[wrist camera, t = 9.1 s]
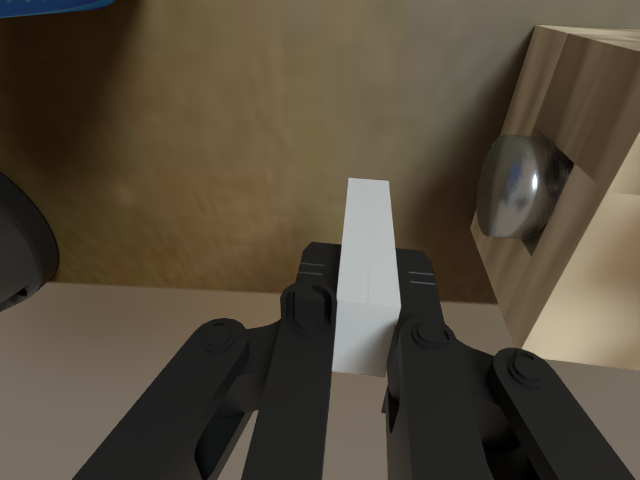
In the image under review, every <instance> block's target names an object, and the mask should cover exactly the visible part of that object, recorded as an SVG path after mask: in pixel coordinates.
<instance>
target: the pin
mask: <svg viewBox="0 0 640 480" xmlns="http://www.w3.org/2000/svg"><path fill="white" fill-rule="evenodd" d="M574 165H575V163H574V162H573V161H572V160H570V159H569V158H560V157H558V152H557V150H556V147H555V145H554V144H553V142H552V141H551V140H550V139H548V138H546V137H535V136H521V135H508V134H504V135H501V136H499V137H498V138H497V139H496V140H495V141H494V143H493V144H492V146H491V147H490V149H489V151H488V153H487V155H486V158H485V160H484V163H483V166H482V170H481V173H480V178H479V183H478V189H477V200H476V211H477V220H478V224H479V227H480V230H481V232H482V233H483V234H484V235H485V236H489V237H500V238H510V239H520V240H528V239H531V238H533V237H534V236H536V235H537V234H538V233H539V232H540V231H541V230H542V228H543V227H544V225H545V224H547V223H548V221H549V218H550V216H551V214H552V212H553V210H554V208H555V206H556V203H557V201H558V199H559V197H560V195H561V193H562V191H563V188H564V186H565V184H566V182H567V180H568V178H569V175H570V173H571V171H572V169H573V167H574Z"/></svg>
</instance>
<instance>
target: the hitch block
mask: <svg viewBox="0 0 640 480" xmlns="http://www.w3.org/2000/svg"><path fill="white" fill-rule="evenodd" d="M504 134H508V135H521V136H535V137H546V138H548V139H550V140H551V141H552V142H553V144H554V145H555V147H556V150H557V152H558V157H560V158H569V159H570V160H572V161H573V162H574V163H575V165H574V167H573V169H572V171H571V173H570V175H569V178H568V180H567V182H566V184H565V186H564V188H563V191H562V193H561V195H560V197H559V199H558V201H557V203H556V206H555V208H554V210H553V212H552V214H551V216H550V218H549V221H548V223H547V224H545V225H544V227H543V228H542V230H541V231H540V232H539V233H538V234H537V235H536V236H534V237H533V238H531V239H528V240H520V239H510V238H500V237H489V236H485V235H484V234H483V233H482V232H481V230H480V227H479V224H478V220H477V211H475V214H474V217H473V220H472V224H471V227H470V230H471V232H472V235H473V238H474V240H475V243H476V246H477V248H478V251H479V254H480V256H481V259H482V262H483V264H484V267H485V270H486V272H487V275H488V278H489V280H490V283H491V286H492V288H493V291H494V294H495V296H496V299H497V301H498V304H499V307H500V309H501V312H502V315H503V317H504V320H505V323H506V325H507V328H508V331H509V333H510V336H511V339H512V341H513V344H514V346H515V348H521V349H524V350H526V351H529V352H532V353H534V354H535V355H537V356H539V357H540V358H543V359H551V360H559V361H567V362H576V363H583V364H591V365H599V366H608V367H615V368H623V369H632V370H640V30H634V29H612V28H591V27H570V26H548V25H535V28H534V31H533V35H532V38H531V41H530V44H529V47H528V50H527V53H526V56H525V59H524V62H523V66H522V69H521V72H520V75H519V78H518V81H517V84H516V87H515V90H514V93H513V97H512V100H511V103H510V106H509V109H508V112H507V115H506V118H505V121H504V124H503V127H502V131H501V134H500V136H501V135H504Z"/></svg>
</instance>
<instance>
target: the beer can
mask: <svg viewBox="0 0 640 480" xmlns="http://www.w3.org/2000/svg"><path fill="white" fill-rule="evenodd" d="M114 1H116V0H0V18H6V17H17V16H28V15H39V14H51V13H62V12H73V11H84V10H95V9H99V8H102V7H105V6H107V5H109V4H111V3H113V2H114Z"/></svg>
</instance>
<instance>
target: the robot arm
mask: <svg viewBox="0 0 640 480" xmlns="http://www.w3.org/2000/svg"><path fill="white" fill-rule="evenodd" d="M57 263H58V254H57V248H56V244H55V241H54V238H53V235H52V233H51V231H50V229H49V227H48V225H47V224H46V222H45V220H44V219H43V217H42V216H41V214H40V213H39V211H38V210H37V209H36V207H35V206H34V205H33V204H32V203H31V201H30V200H29V199H28V198H27V197H26V196H25V195H24V194H23V193H22V192H21V191H20V190H19V189H18V188H17V187H16V186H15V185H14V184H13V183H12V182H11V181H9V180H8V179H7V178H6V177H5V176H3V175H2V174H1V173H0V312H1V311H3V310H5V309H7V308H9V307H11V306H13V305H16V304H18V303H20V302H22V301H24V300H26V299H28V298H29V297H30V296H32V295H33V294H34V293H35V292H37V291H38V290H39V289H40V288H41V287H42V286H43V285H44V284H45V283H47V282H48V281H49V280H50V279H51V278H52V276H53V275H54V273H55V271H56V268H57ZM435 283H436V282H435V278H434V275H433V269H432V264H431V261H430V260H429V259H428V257H427V256H426V255H425V254H424V253H423V251H419V250H408V249H397V248H395V241H394V231H393V221H392V211H391V201H390V191H389V181H382V180H369V179H356V178H349V181H348V191H347V201H346V210H345V220H344V230H343V239H342V245H340V244H329V243H318V242H311V243H310V244H309V245H308V246H307V247H306V248H305V250H304V251H303V254H302V258H301V262H300V266H299V270H298V274H297V278H296V282H295V283H294V284H292V285H290V286H289V287H287V288H286V289H285V290H284V291H283V293H282V295H281V297H280V302H281V319H280V320H279V321H277V322H275V323H273V324H271V325H267V326H264V327H258V328H252V329H246V328H245V327H244V326H243V324H241V323H240V322H238V321H236V320H234V319H227V318H221V319H215V320H211V321H209V322H207V323H205V324H203V325H201V326H200V327H199V328H198V329H197V330H196V331H195V332H194V333H193V334H192V335H191V337H190V338H189V339H188V340H187V341H186V343H185V344H184V345H183V346H182V347H181V348H180V350H179V351H178V352H177V353H176V355H175V356H174V357H173V358H172V359H171V360H170V362H169V363H168V364H167V365H166V367H165V368H164V369H163V370H162V371H161V373H160V374H159V375H158V376H157V377H156V379H155V380H154V381H153V382H152V384H151V385H150V386H149V387H148V388H147V389H146V391H145V392H144V393H143V394H142V395H141V397H140V398H139V399H138V400H137V401H136V403H135V404H134V405H133V406H132V408H131V409H130V410H129V411H128V412H127V414H126V415H125V416H124V417H123V418H122V420H121V421H120V422H119V423H118V424H117V426H116V427H115V428H114V429H113V430H112V432H111V433H110V434H109V435H108V436H107V438H106V439H105V440H104V441H103V442H102V444H101V445H100V446H99V447H98V448H97V450H96V451H95V452H94V453H93V455H92V456H91V457H90V458H89V459H88V461H87V462H86V463H85V464H84V465H83V467H82V468H81V469H80V470H79V471H78V473H77V474H76V475H75V476H74V478H73V479H72V480H217V479H218V477H219V475H220V473H221V471H222V469H223V468H224V466H225V464H226V462H227V460H228V458H229V456H230V454H231V453H232V451H233V449H234V447H235V445H236V443H237V441H238V439H239V437H240V436H241V434H242V432H243V430H244V428H245V426H246V424H247V423H248V421H249V419H250V417H251V415H252V413H253V411H255V410H259V411H258V416H257V419H256V423H255V427H254V431H253V435H252V439H251V442H250V447H249V451H248V454H247V458H246V462H245V467H244V470H243V474H242V478H241V480H322V475H323V464H324V454H325V442H326V432H327V420H328V410H329V398H330V388H331V376H332V371H334V372H343V373H352V374H360V375H369V376H378V377H385V375H386V370H387V376H388V385H387V389H386V394H385V398H384V402H383V406H382V413H386V434H387V460H388V461H387V462H388V480H635V478H634V477H633V476H632V474H631V473H630V472H629V470H628V469H627V468H626V466H625V465H624V463H623V462H622V461H621V459H620V458H619V457H618V455H617V454H616V453H615V451H614V450H613V449H612V447H611V446H610V445H609V443H608V442H607V441H606V439H605V438H604V437H603V435H602V434H601V433H600V431H599V430H598V429H597V427H596V426H595V425H594V423H593V422H592V421H591V419H590V418H589V417H588V415H587V414H586V413H585V411H584V410H583V408H582V407H581V406H580V404H579V403H578V402H577V400H576V399H575V398H574V396H573V395H572V394H571V392H570V391H569V390H568V388H567V387H566V386H565V384H564V383H563V382H562V380H561V379H560V378H559V376H558V375H557V374H556V372H555V371H554V370H553V369H552V368H551V367H550V365H549V364H548V363H547V362H546V361H545V360H543V359H542V358H540V357H539V356H537V355H535V354H534V353H532V352H529V351H526V350H524V349H521V348H506V349H502V350H500V351H499V352H498V353H497V354H496V355H495V356H493V355H490V354H487V353H484V352H482V351H479V350H476V349H473V348H471V347H469V346H467V345H465V344H463V343H462V342H460V341H459V340H457V339H456V337H455V335H454V333H453V331H452V330H451V329H450V328H449V327H448V326H447V325H446V324H445V322H444V318H443V314H442V309H441V305H440V300H439V296H438V291H437V287H436V285H435Z"/></svg>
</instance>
